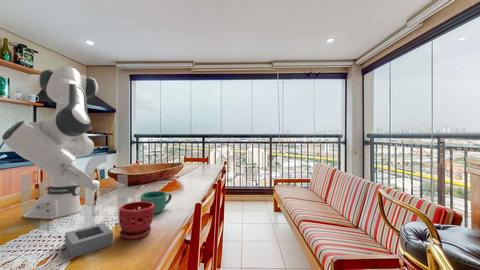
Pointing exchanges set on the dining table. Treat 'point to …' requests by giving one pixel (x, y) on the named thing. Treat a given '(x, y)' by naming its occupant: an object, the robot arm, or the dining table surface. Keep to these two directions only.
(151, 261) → the dining table surface
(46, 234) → the dining table surface
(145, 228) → the plant pot
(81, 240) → the socket collar
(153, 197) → the mug
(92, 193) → the milkshake
